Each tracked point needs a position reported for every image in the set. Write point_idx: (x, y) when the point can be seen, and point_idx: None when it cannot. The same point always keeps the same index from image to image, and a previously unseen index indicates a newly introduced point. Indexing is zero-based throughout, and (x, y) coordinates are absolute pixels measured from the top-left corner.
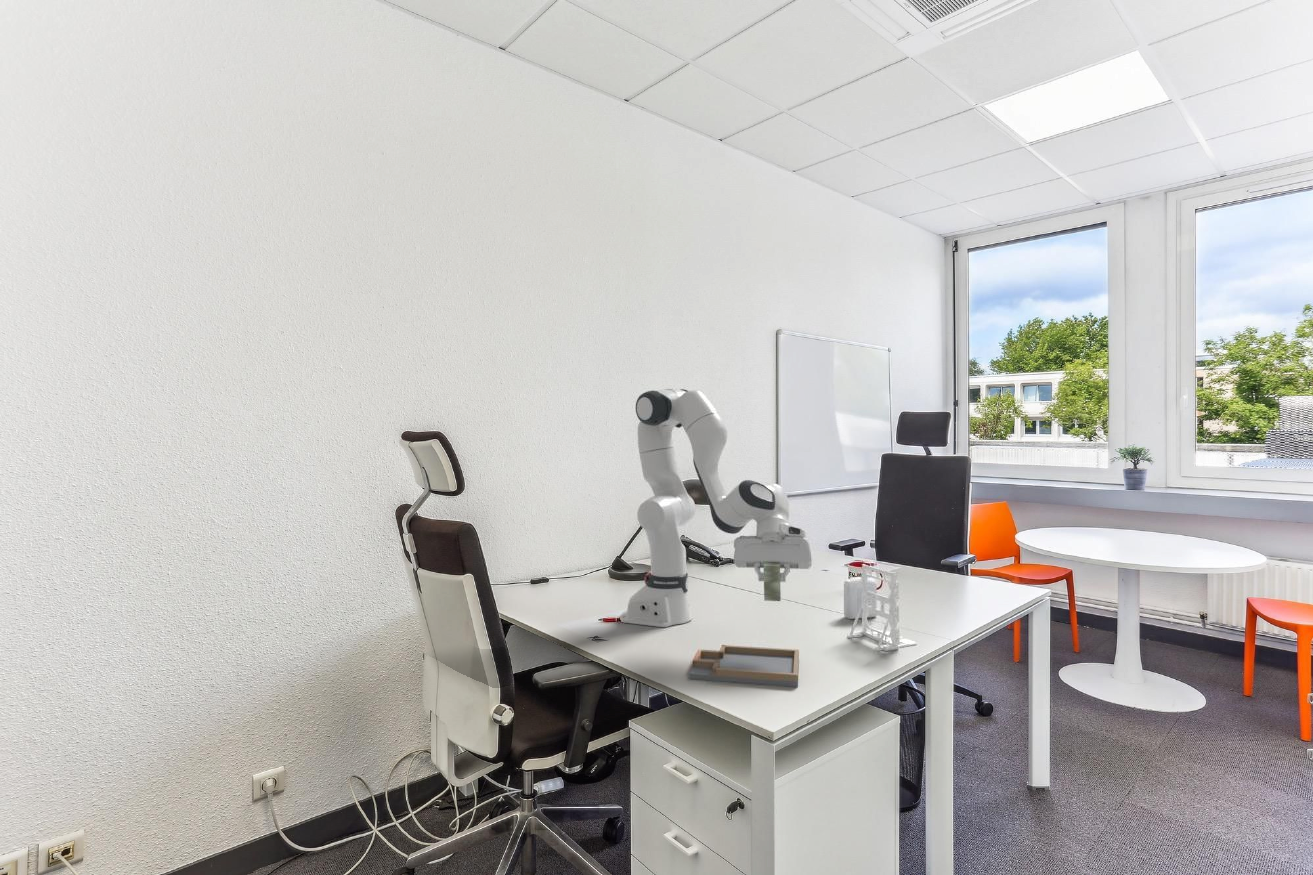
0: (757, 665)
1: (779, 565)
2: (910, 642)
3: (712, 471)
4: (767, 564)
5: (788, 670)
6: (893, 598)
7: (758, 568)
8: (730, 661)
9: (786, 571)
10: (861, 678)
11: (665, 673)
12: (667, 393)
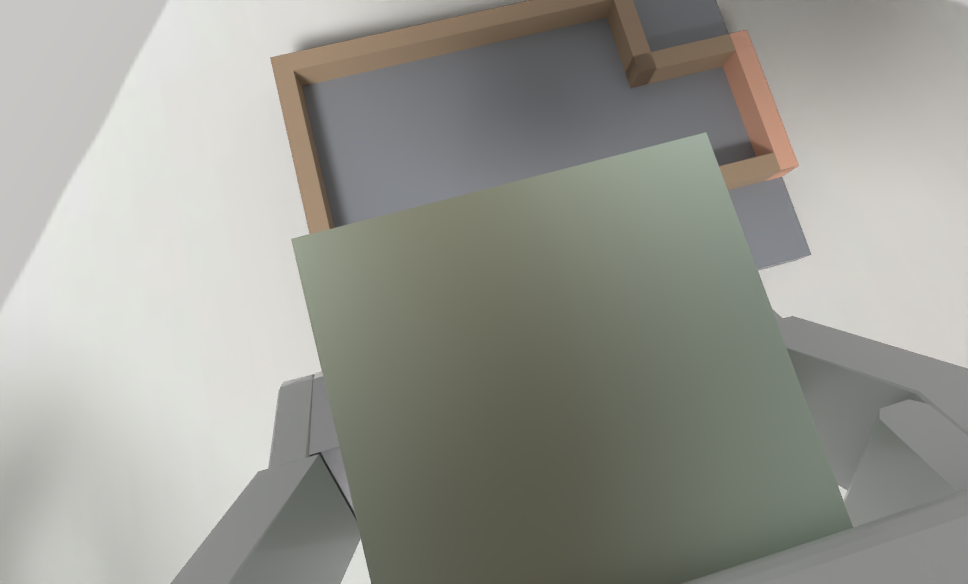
0: (490, 171)
1: (314, 326)
2: None
3: None
4: (657, 291)
5: (346, 171)
6: None
7: (847, 363)
8: None
9: (240, 498)
10: (49, 279)
11: (807, 5)
12: None
